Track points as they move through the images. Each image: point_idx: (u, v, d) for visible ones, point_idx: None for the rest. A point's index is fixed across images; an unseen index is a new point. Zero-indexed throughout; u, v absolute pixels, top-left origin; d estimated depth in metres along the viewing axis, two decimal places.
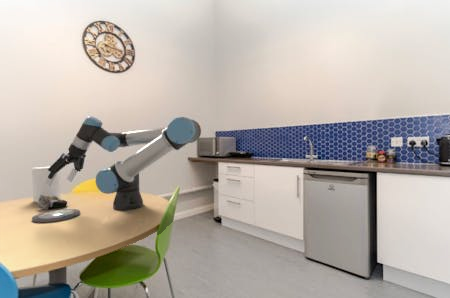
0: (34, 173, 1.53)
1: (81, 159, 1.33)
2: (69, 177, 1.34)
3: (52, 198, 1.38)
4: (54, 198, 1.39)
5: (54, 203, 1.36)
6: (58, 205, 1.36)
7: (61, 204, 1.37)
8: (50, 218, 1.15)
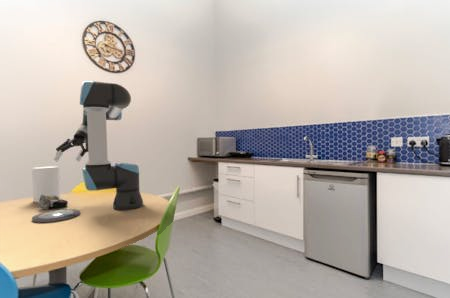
0: (34, 173, 1.53)
1: None
2: None
3: (52, 198, 1.38)
4: (55, 198, 1.40)
5: (54, 203, 1.36)
6: (58, 205, 1.36)
7: (61, 204, 1.37)
8: (50, 218, 1.15)
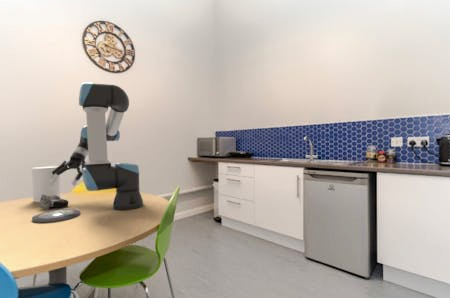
0: (34, 173, 1.53)
1: None
2: None
3: (53, 198, 1.39)
4: (55, 198, 1.40)
5: (55, 203, 1.36)
6: (59, 205, 1.37)
7: (62, 204, 1.38)
8: (50, 218, 1.15)
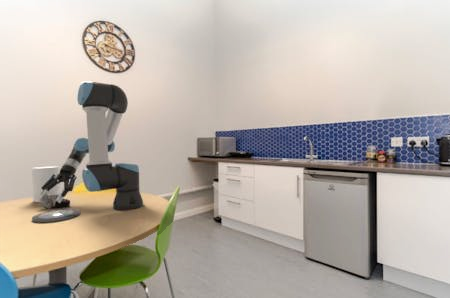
0: (34, 173, 1.53)
1: None
2: None
3: (55, 197, 1.39)
4: (57, 197, 1.41)
5: (57, 202, 1.37)
6: (61, 204, 1.37)
7: (64, 203, 1.38)
8: (50, 218, 1.15)
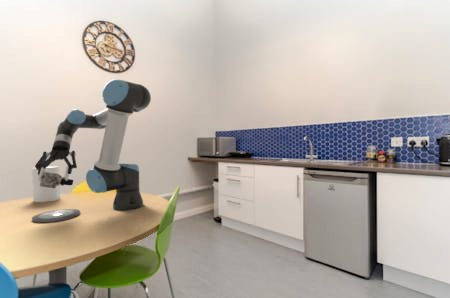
0: (34, 173, 1.53)
1: None
2: None
3: None
4: (58, 176, 1.24)
5: (62, 180, 1.21)
6: (67, 182, 1.22)
7: (69, 181, 1.24)
8: (50, 218, 1.15)
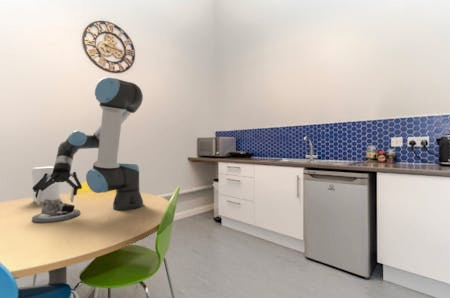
0: (34, 173, 1.53)
1: (74, 177, 1.30)
2: None
3: None
4: (59, 202, 1.24)
5: (64, 207, 1.21)
6: (68, 209, 1.22)
7: (71, 208, 1.24)
8: (50, 218, 1.15)
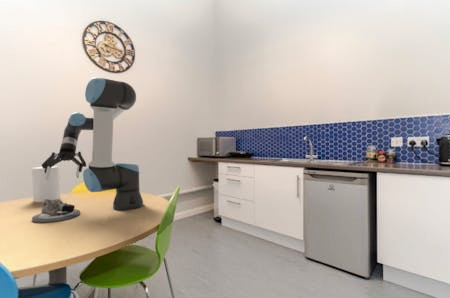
0: (34, 173, 1.53)
1: (79, 156, 1.42)
2: None
3: None
4: (60, 202, 1.24)
5: (64, 207, 1.21)
6: (68, 209, 1.22)
7: (71, 208, 1.24)
8: (50, 218, 1.15)
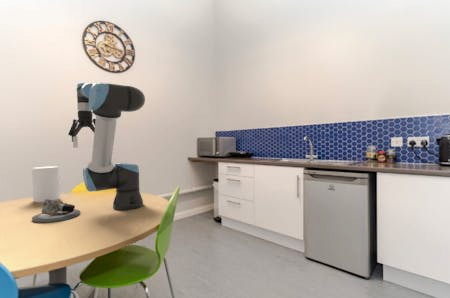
0: (34, 173, 1.53)
1: None
2: None
3: None
4: (60, 202, 1.24)
5: (64, 207, 1.21)
6: (68, 209, 1.22)
7: (71, 208, 1.24)
8: (50, 218, 1.15)
